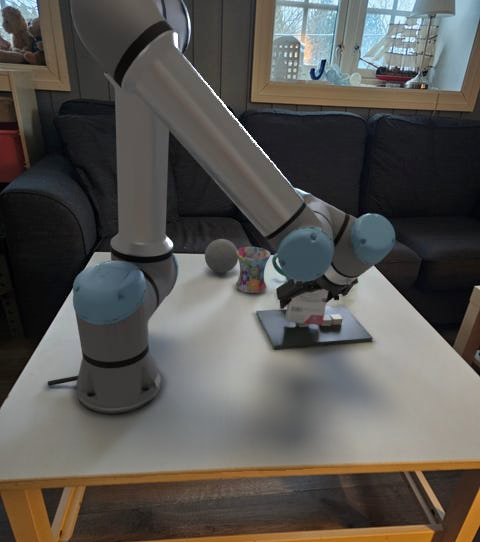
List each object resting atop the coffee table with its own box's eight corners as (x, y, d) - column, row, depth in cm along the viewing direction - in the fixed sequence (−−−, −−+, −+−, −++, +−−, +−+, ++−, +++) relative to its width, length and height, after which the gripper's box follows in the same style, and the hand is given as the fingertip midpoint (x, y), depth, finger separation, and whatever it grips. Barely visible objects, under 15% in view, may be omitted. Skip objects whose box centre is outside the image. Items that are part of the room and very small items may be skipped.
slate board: (274, 349, 96) (274, 345, 95) (256, 314, 109) (256, 310, 109) (371, 341, 101) (372, 337, 100) (343, 308, 114) (343, 305, 114)
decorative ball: (197, 271, 130) (197, 240, 125) (218, 262, 137) (219, 232, 132) (223, 281, 125) (225, 248, 120) (243, 271, 132) (245, 240, 127)
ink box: (321, 315, 105) (329, 271, 99) (322, 326, 101) (331, 280, 95) (285, 312, 105) (292, 267, 100) (285, 322, 101) (292, 276, 95)
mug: (262, 298, 117) (265, 261, 112) (229, 291, 119) (231, 255, 114) (272, 280, 127) (276, 246, 122) (242, 275, 129) (245, 241, 124)
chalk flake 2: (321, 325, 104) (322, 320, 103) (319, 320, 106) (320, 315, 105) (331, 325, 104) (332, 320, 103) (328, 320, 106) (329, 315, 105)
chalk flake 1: (299, 327, 103) (300, 321, 102) (296, 322, 105) (297, 316, 104) (309, 326, 103) (309, 320, 103) (305, 321, 105) (306, 315, 105)
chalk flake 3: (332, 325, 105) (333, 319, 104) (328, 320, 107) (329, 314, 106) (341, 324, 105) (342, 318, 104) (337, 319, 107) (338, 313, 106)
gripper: (287, 289, 80) (259, 320, 101) (393, 283, 85) (345, 314, 106) (281, 251, 82) (255, 289, 103) (386, 248, 86) (340, 285, 108)
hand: (300, 302), depth 104 cm, fingers closed on ink box, 9 cm apart
